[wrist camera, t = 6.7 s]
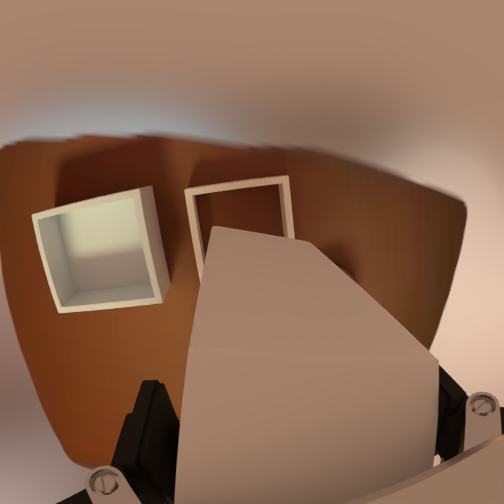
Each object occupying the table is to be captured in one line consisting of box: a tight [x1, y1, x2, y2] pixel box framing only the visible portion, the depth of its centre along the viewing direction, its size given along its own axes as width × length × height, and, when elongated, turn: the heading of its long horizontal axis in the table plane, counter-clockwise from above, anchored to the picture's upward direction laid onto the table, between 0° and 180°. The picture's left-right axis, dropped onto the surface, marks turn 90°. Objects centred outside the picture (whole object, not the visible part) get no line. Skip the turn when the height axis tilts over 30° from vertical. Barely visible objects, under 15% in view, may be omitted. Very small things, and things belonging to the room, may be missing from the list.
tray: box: [184, 175, 295, 284], centre depth 37 cm, size 12×12×3 cm
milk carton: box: [174, 226, 439, 504], centre depth 13 cm, size 7×7×19 cm
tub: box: [32, 185, 171, 313], centre depth 34 cm, size 13×15×6 cm
